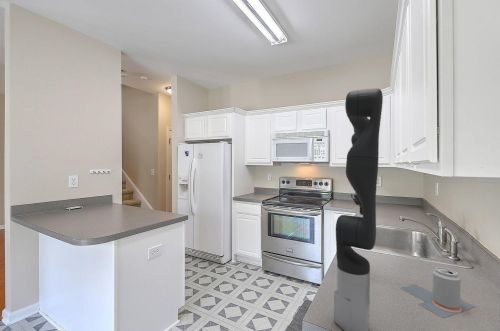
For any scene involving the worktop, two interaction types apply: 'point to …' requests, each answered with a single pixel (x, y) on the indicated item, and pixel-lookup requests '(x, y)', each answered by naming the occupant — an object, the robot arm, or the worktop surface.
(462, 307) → the t mat
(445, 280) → the can
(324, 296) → the worktop surface
